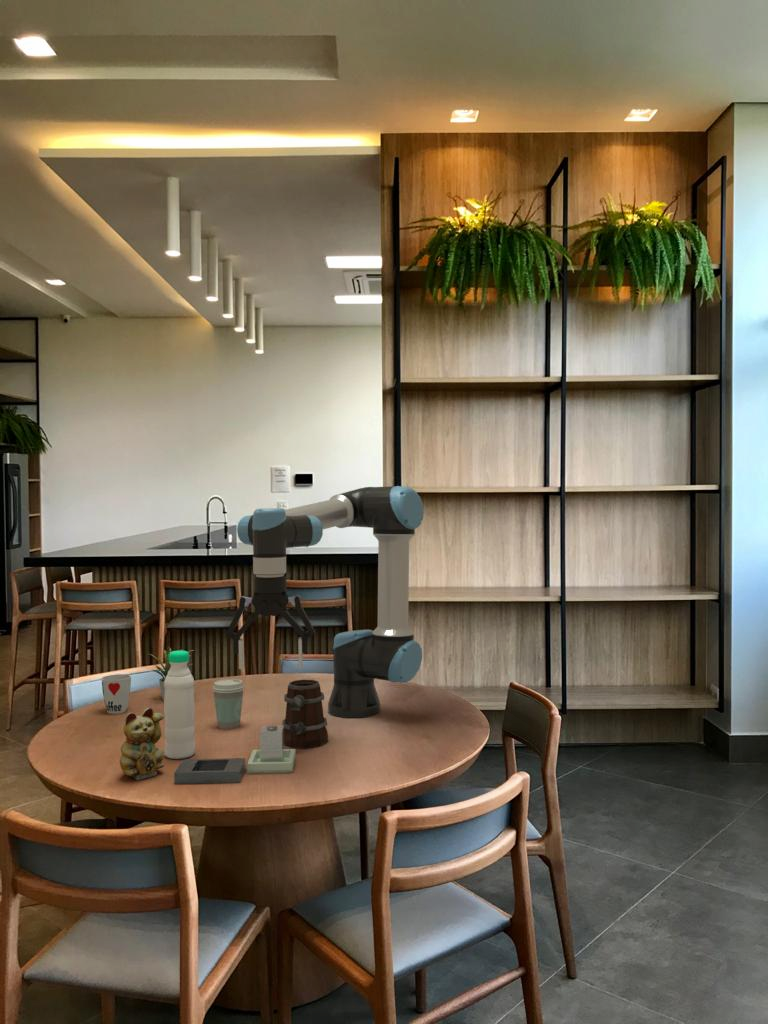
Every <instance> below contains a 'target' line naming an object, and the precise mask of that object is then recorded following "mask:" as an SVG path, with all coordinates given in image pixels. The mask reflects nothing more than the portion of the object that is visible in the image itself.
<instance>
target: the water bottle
mask: <svg viewBox="0 0 768 1024" xmlns="http://www.w3.org/2000/svg"><path fill="white" fill-rule="evenodd" d="M168 654H169V663H170V664H171V667H170V669H169V671H168V674H167V676H166V678H165V677H164V678H165V681H164V687H165V695H164V701H163V705H164V706H163V708H164V709H163V710H164V711H163V712H164V713H163V714H164V715H163V716H164V724H165V727H164V740H165V742H164V757H166V758H168V759H172V760H183V759H189V758H190V757H192V756H193V755H194V754H195V752H196V743H195V734H196V733H195V691H194V685H195V680H194V676H193V675H192V673H191V670H190V668H189V666H188V667H187V665H188V663H189V662H190V652H188V650H187V651H186V650H182V651H180V650H172V652H170V651H169V652H168Z"/></svg>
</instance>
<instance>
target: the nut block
mask: <svg viewBox="0 0 768 1024" xmlns="http://www.w3.org/2000/svg"><path fill="white" fill-rule="evenodd" d="M284 749H285V745H284V725H281V724H280V725H262V726H261V729H260V732H259V750H260V762H284Z"/></svg>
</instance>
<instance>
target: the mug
mask: <svg viewBox="0 0 768 1024" xmlns="http://www.w3.org/2000/svg"><path fill="white" fill-rule="evenodd" d="M286 692H287V693H285V694H284V696H283V697H284V698H283V699H284V702H286V708H285V719H284V718H283V719H282V720H281V721H282V725H284V746H286V747H289V748H290V749H309V748H311V749H312V748H315V747H316V748H317V747H320V746H322V745H324V744H327V743H328V742H329V733H328V730H327V727H326V726H327V725H328V718H327V717H325V716H324V708H323V700H325V694H324V692H322V690H321V685H320V682H319V681H318V680H316V679H315V680H314V679H305V678H304V679H303V678H302V679H297V680H293V681H290V682H288V685H287V691H286Z"/></svg>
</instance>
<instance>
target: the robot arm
mask: <svg viewBox="0 0 768 1024" xmlns="http://www.w3.org/2000/svg"><path fill="white" fill-rule="evenodd" d="M424 513H425V512H424V504H423V502H422V499H421V497H420V495H419V494H418V492H417V491H416V490H415V489H413V488H412V487H409V486H400V485H396V486H394V485H393V486H365V487H360V488H357V489H353V490H349V491H346V492H342V493H339V494H335V495H333V496H332V495H331V497H329V499H328V500H324V501H318V502H314V503H309V504H305V505H300V506H296V507H291V508H287V509H284V508H279V507H277V508H272V507H271V508H270V507H269V508H256V509H255V510H254V511H253V514H251V515H244V516H243V517H242V518H240V519H239V521H238V523H237V526H236V527H237V528H236V533H237V537H238V539H239V540H240V542H241V543H242V544H245V545H249V546H252V552H253V553H252V554H253V555H252V562H253V563H252V568H253V570H252V571H253V572H252V573H253V574H254V575H255V576H254V577H253V578H252V579H253V596H252V597H247V596H245V595H242V596H241V597H240V598H239V604H238V609H237V610H236V612H235V614H234V616H233V618H232V621H231V623H230V625H229V627H228V629H227V631H226V633H225V637H226V638H228V639H232V640H233V652H234V654H235V655H238V669H239V670H243V669H244V665H245V662H244V661H245V659H244V657H245V656H244V655H245V654H244V653H245V652H244V651H245V650H244V647H245V646H244V644H245V643H244V638H241V637H242V636H243V634H244V633H245V632H246V631H247V629H248V628H249V627H251V625H252V623H254V622H255V620H256V618H257V617H258V616H259V615H261V616H263V617H269V616H270V617H271V616H272V617H277V616H279V615H281V617H282V618H283V619H285V621H286V622H287V623H288V624H289V625H290V626H291V628H293V630H294V631H295V632H296V633H297V634H298V635H299V636H300V637H298V639H297V640H298V641H297V643H298V646H297V647H298V668H299V669H301V668H303V664H304V663H303V662H304V661H303V660H304V659H303V654H305V653H307V652H308V638H311V637H314V636H315V634H316V631H315V628H314V626H313V624H312V623H311V621H310V619H309V617H308V614H307V613H306V611H305V609H304V607H303V605H302V602H301V596H300V595H298V594H296V595H295V596H288V593H287V592H288V591H287V577H286V575H285V574H286V573H287V549H289V548H302V547H303V548H304V547H305V548H308V547H311V546H315V545H318V544H319V543H320V542H321V540H322V537H323V534H324V533H323V531H324V530H326V529H330V528H334V527H336V528H338V529H345V528H351V527H354V528H357V527H359V528H369V529H370V528H371V529H372V535H373V536H374V537H375V538H376V539H377V541H378V545H377V547H378V550H377V551H378V553H377V556H378V558H377V561H378V563H377V565H378V566H377V625H376V626H377V627H375V629H374V630H372V629H357V630H350V631H348V630H347V631H344V632H339V633H337V634H336V635H335V636H334V637H333V647H332V650H333V651H332V653H333V655H332V656H333V686H332V689H331V694H330V697H329V699H328V703H327V712H328V713H329V714H330V715H331V716H332V715H333V716H336V717H340V718H366V717H370V716H375V715H377V714H379V713H380V712H381V701H380V698H379V694H378V692H377V688H376V685H375V680H381V681H386V682H387V681H388V682H391V683H404V684H405V683H407V682H410V681H411V680H413V679H414V677H416V676H417V673H418V672H419V670H420V669H421V666H422V665H421V664H422V660H423V650H422V647H421V644H420V643H419V642H417V641H416V640H414V637H415V636H414V634H415V633H414V631H413V630H412V629H411V628H410V626H409V594H410V593H409V589H410V588H409V587H410V584H409V583H410V570H409V569H410V540H411V539H413V537H415V534H416V531H415V530H416V529H418V528H419V527H420V525H421V524H422V522H423V519H424ZM288 603H290V604H291V605H292V607H295V610H296V611H297V613H298V615H299V617H300V619H301V621H302V623H303V626H305V628H306V630H307V631H306V630H305V629H304V628H303V626H301V625H300V623H298V621H297V620H296V619H295V618H294V617H293V615H292V614H291V613H290V612H289V611H288V609H287V608H286V607H287V605H288ZM250 604H252V605H253V606H254V608H255V610H254V611H253V613H252V614H251V615H250V616H249V617H248V619H247V620H246V621H245V622H244V623H243V625H242V626H241V627H240V628H239V629H238V631H237V632H235V629H236V627H237V625H238V623H239V621H240V619H241V617H242V615H243V613H244V611H245V609H246V607H249V605H250Z"/></svg>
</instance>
